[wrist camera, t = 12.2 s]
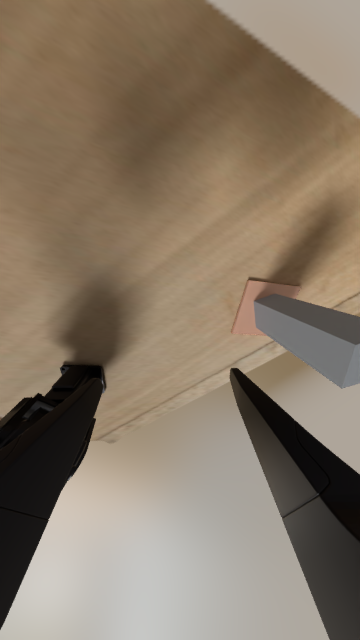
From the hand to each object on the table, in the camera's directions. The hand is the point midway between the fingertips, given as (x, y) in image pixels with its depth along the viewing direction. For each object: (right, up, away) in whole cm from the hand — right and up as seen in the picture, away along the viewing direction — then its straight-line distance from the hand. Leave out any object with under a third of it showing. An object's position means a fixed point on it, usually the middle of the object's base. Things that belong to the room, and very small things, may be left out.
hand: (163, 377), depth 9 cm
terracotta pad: (+15, +5, +13) cm, 21 cm away
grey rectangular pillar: (+15, +5, +13) cm, 20 cm away
